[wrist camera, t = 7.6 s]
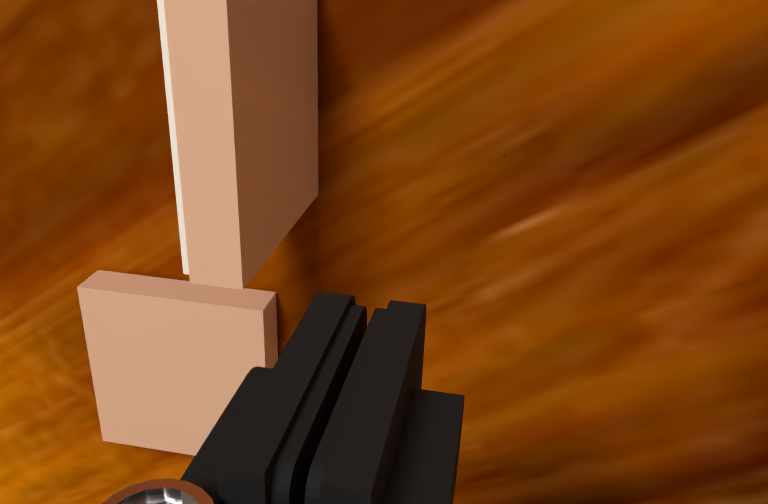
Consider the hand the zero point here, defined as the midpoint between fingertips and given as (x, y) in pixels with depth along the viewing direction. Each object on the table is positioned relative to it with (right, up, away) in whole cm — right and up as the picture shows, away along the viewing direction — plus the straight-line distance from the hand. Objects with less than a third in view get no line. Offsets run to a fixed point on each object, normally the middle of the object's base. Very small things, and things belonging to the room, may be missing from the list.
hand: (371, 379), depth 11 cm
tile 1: (-3, +9, +18) cm, 20 cm away
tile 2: (-5, -4, +23) cm, 24 cm away
